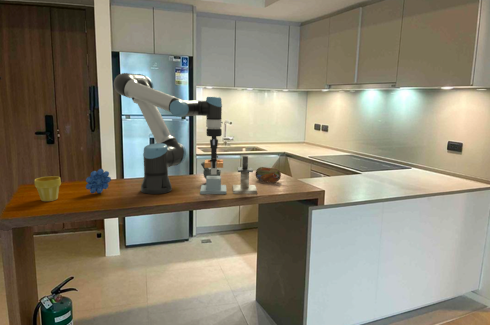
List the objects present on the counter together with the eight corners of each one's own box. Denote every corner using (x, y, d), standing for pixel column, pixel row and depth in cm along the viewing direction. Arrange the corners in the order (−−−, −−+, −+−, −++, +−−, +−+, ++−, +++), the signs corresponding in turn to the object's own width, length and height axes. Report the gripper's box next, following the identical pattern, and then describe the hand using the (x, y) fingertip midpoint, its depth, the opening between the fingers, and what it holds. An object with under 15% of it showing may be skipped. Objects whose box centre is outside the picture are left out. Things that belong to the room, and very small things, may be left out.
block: (200, 194, 176) (200, 180, 175) (201, 187, 189) (201, 174, 188) (226, 194, 177) (226, 180, 176) (226, 187, 190) (226, 174, 189)
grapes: (110, 189, 180) (109, 166, 178) (112, 193, 175) (111, 169, 173) (85, 192, 175) (83, 168, 173) (86, 195, 169) (85, 171, 167)
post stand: (233, 193, 179) (233, 158, 176) (232, 187, 191) (233, 154, 188) (257, 193, 180) (258, 158, 177) (254, 187, 192) (255, 154, 188)
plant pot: (33, 199, 162) (31, 178, 160) (57, 195, 169) (56, 175, 167) (39, 204, 154) (38, 182, 153) (65, 199, 162) (63, 178, 160)
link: (204, 167, 176) (204, 162, 176) (205, 164, 185) (205, 159, 185) (223, 167, 177) (223, 162, 176) (223, 164, 186) (223, 159, 185)
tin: (255, 180, 209) (255, 166, 207) (257, 179, 211) (257, 165, 210) (279, 183, 202) (280, 169, 201) (281, 182, 205) (281, 168, 204)
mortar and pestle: (218, 180, 207) (218, 159, 205) (222, 183, 198) (222, 162, 196) (199, 181, 203) (199, 160, 201) (202, 185, 195) (202, 163, 192)
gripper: (221, 130, 167) (221, 176, 171) (221, 126, 189) (221, 168, 192) (205, 129, 167) (205, 176, 170) (207, 126, 188) (207, 168, 192)
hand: (214, 172), depth 181 cm, fingers closed on link, 9 cm apart
